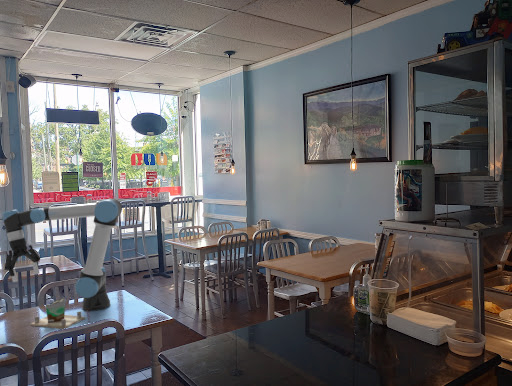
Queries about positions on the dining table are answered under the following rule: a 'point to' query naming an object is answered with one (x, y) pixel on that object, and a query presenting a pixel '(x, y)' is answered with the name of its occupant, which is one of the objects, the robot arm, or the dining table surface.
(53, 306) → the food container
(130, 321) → the dining table surface
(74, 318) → the pin plate
